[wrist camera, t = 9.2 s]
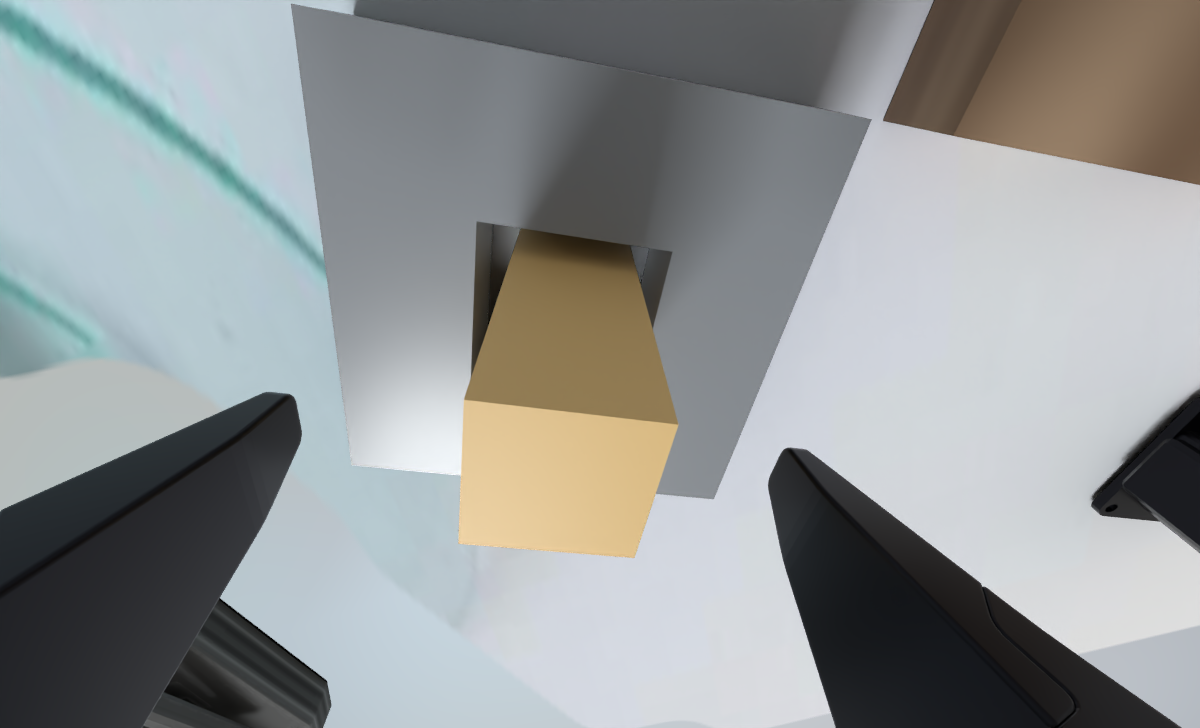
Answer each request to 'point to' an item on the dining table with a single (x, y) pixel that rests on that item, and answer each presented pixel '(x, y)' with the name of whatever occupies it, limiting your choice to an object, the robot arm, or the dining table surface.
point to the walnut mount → (1062, 80)
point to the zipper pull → (240, 681)
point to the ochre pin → (565, 405)
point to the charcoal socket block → (550, 220)
